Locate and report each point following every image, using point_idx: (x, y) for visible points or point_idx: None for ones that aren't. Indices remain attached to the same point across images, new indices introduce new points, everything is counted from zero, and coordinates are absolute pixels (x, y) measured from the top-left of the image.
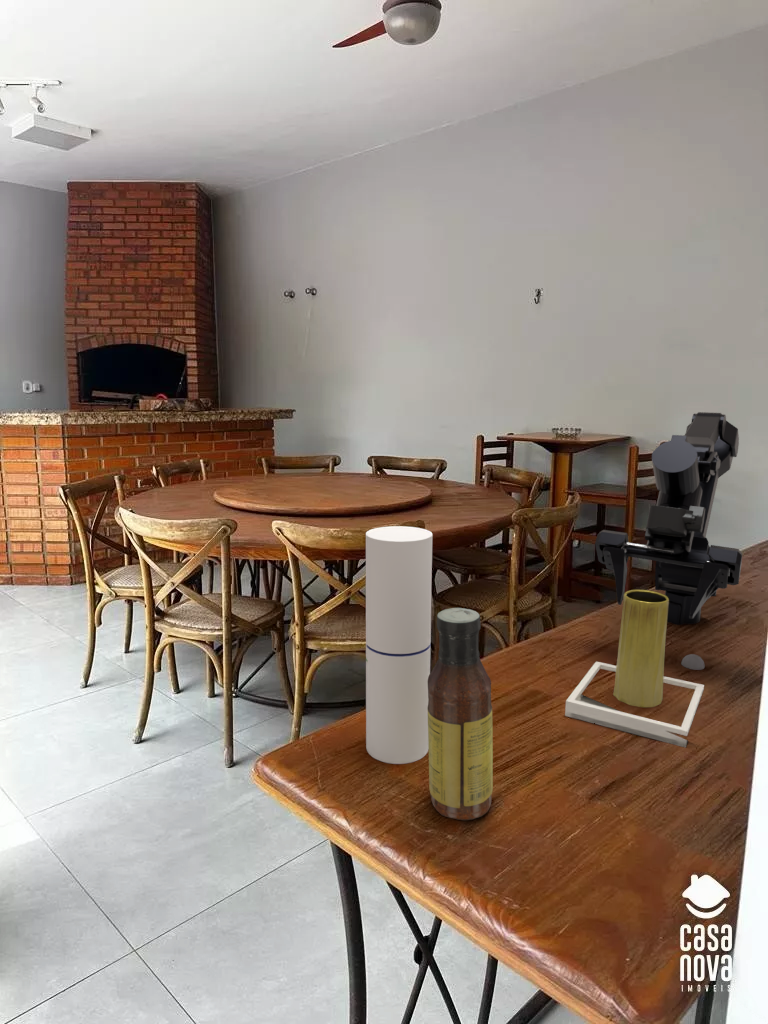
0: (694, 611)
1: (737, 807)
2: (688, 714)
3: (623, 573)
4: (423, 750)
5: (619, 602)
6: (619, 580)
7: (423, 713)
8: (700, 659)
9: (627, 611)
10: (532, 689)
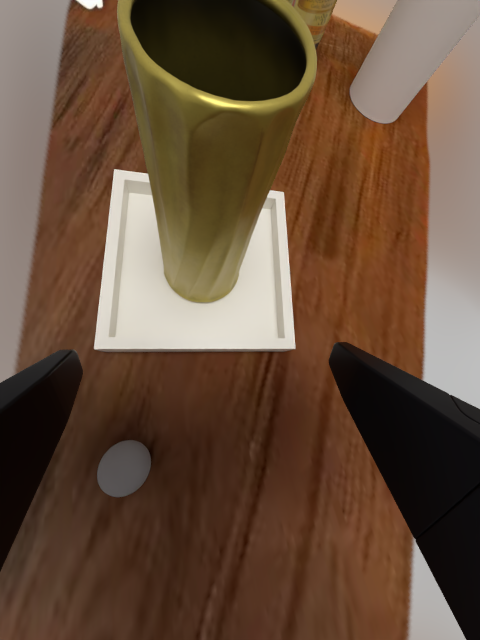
0: (46, 357)
1: (57, 94)
2: (116, 219)
3: (449, 418)
4: (353, 85)
5: (336, 345)
6: (419, 389)
7: (382, 33)
8: (103, 471)
9: (265, 77)
10: (336, 257)
